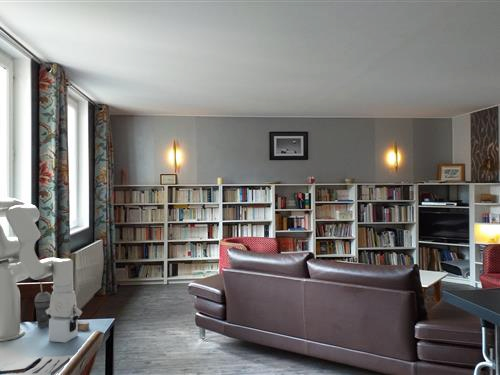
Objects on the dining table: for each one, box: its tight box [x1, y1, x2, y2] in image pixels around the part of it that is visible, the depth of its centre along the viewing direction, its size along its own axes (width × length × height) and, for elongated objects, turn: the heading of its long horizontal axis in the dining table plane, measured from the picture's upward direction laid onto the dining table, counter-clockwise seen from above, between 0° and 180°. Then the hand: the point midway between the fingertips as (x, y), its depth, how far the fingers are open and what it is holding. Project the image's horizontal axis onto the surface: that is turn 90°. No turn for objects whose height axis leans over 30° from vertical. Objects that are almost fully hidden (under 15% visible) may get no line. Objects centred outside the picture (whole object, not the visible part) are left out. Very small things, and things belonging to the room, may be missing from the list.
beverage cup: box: [34, 281, 51, 328], centre depth 176 cm, size 7×7×20 cm
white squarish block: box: [48, 316, 79, 343], centre depth 160 cm, size 8×8×9 cm
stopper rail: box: [78, 321, 90, 331], centre depth 171 cm, size 10×2×3 cm, turn 78°
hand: (63, 329), depth 161 cm, fingers closed on white squarish block, 7 cm apart
